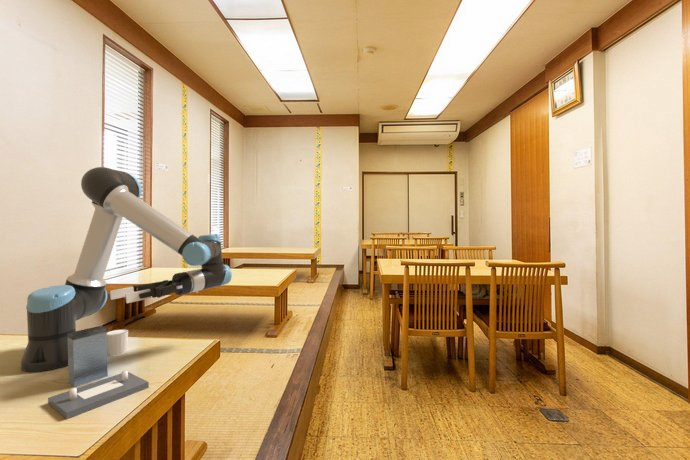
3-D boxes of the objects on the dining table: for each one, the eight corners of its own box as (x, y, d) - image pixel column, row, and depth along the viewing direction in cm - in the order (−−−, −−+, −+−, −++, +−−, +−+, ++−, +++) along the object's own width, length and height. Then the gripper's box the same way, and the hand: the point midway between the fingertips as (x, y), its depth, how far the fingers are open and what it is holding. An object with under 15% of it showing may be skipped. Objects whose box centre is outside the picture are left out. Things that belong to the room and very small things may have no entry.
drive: (68, 383, 97) (67, 333, 96) (101, 372, 103) (100, 325, 103) (74, 387, 94) (73, 335, 94) (107, 376, 101) (106, 328, 101)
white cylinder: (116, 348, 123) (116, 328, 123) (133, 349, 122) (133, 329, 122) (99, 355, 117) (99, 334, 116) (117, 357, 115) (116, 336, 115)
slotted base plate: (48, 403, 86) (47, 387, 86) (127, 376, 101) (126, 362, 100) (66, 419, 79) (66, 401, 79) (148, 387, 94) (148, 372, 94)
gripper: (207, 295, 113) (135, 313, 97) (172, 291, 129) (106, 305, 113) (204, 272, 113) (131, 286, 97) (170, 270, 129) (103, 282, 113)
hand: (117, 296), depth 105 cm, fingers open, 13 cm apart
